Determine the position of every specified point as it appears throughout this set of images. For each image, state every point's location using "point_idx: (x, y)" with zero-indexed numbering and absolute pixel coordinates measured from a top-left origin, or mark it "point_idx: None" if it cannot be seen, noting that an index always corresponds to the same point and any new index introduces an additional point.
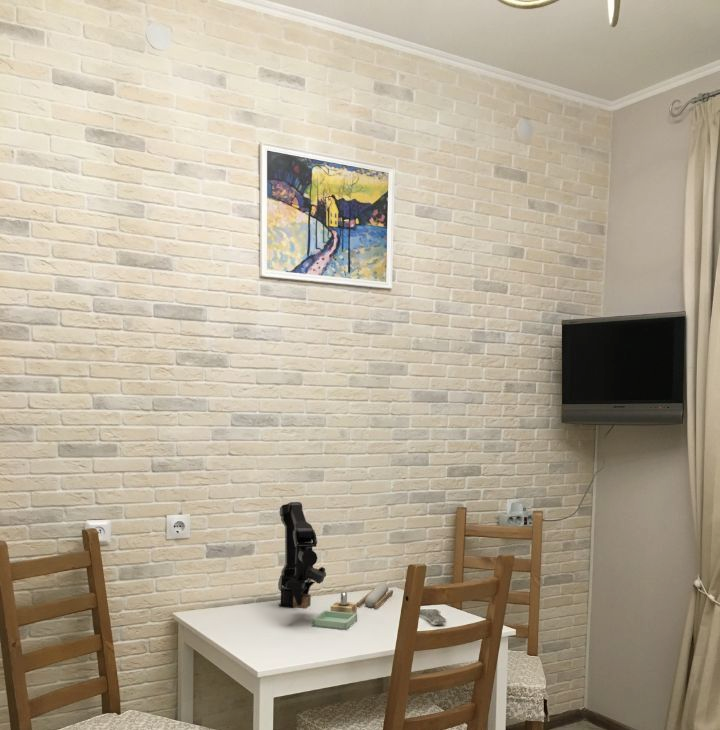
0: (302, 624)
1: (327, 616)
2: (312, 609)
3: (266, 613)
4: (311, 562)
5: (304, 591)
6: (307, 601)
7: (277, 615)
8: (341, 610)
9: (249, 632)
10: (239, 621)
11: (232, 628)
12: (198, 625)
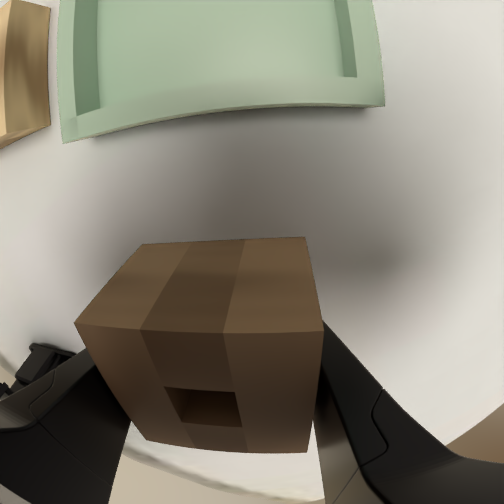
0: (345, 196)
1: (98, 101)
2: (31, 273)
3: None
4: None
5: (97, 419)
6: (239, 279)
7: None
8: (20, 53)
9: (496, 355)
10: None
11: (448, 411)
12: None
